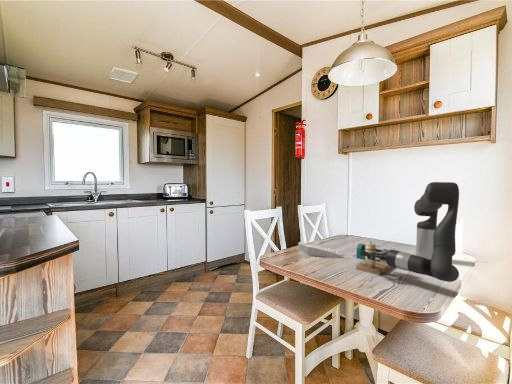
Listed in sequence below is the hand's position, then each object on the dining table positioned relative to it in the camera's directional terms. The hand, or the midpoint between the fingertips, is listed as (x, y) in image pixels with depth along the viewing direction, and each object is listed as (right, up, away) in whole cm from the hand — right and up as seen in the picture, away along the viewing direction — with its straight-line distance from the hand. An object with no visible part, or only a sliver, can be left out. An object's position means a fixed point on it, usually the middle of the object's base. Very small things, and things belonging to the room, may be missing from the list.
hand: (367, 251), depth 124 cm
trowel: (-17, -8, +28) cm, 34 cm away
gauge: (+1, -7, -1) cm, 7 cm away
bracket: (+11, -9, +23) cm, 27 cm away
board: (+6, -9, +4) cm, 11 cm away
